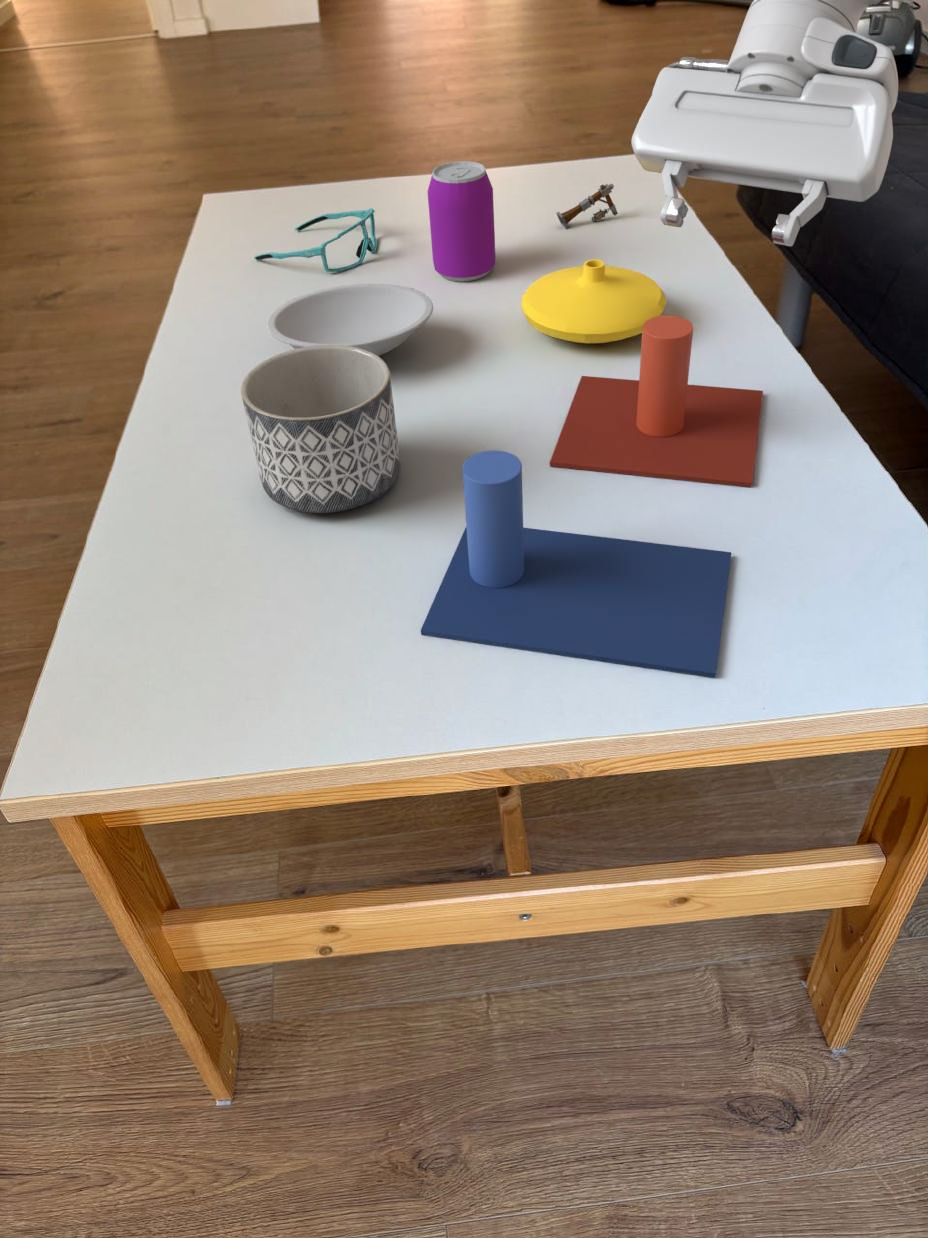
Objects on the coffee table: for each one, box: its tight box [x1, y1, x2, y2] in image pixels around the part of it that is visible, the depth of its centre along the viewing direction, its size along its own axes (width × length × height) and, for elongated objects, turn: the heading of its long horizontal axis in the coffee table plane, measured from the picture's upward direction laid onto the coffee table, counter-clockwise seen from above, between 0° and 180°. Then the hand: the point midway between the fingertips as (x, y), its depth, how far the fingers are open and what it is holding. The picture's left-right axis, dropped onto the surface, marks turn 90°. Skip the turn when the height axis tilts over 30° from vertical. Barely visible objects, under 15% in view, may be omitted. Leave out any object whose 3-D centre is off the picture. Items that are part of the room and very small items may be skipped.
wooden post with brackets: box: [555, 183, 619, 230], centre depth 134 cm, size 2×8×4 cm, turn 106°
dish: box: [266, 283, 434, 357], centre depth 110 cm, size 18×14×5 cm
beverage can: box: [427, 160, 496, 282], centre depth 122 cm, size 8×8×12 cm
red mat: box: [549, 375, 764, 488], centre depth 97 cm, size 18×16×1 cm
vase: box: [520, 259, 667, 345], centre depth 111 cm, size 16×16×7 cm
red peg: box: [636, 315, 694, 437], centre depth 93 cm, size 4×4×10 cm
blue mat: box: [420, 526, 732, 679], centre depth 80 cm, size 22×14×1 cm, turn 75°
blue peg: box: [462, 449, 524, 588], centre depth 79 cm, size 4×4×10 cm
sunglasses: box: [253, 207, 378, 273], centre depth 132 cm, size 14×15×5 cm
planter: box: [240, 345, 401, 514], centre depth 90 cm, size 13×13×10 cm
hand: (724, 232), depth 82 cm, fingers open, 8 cm apart
